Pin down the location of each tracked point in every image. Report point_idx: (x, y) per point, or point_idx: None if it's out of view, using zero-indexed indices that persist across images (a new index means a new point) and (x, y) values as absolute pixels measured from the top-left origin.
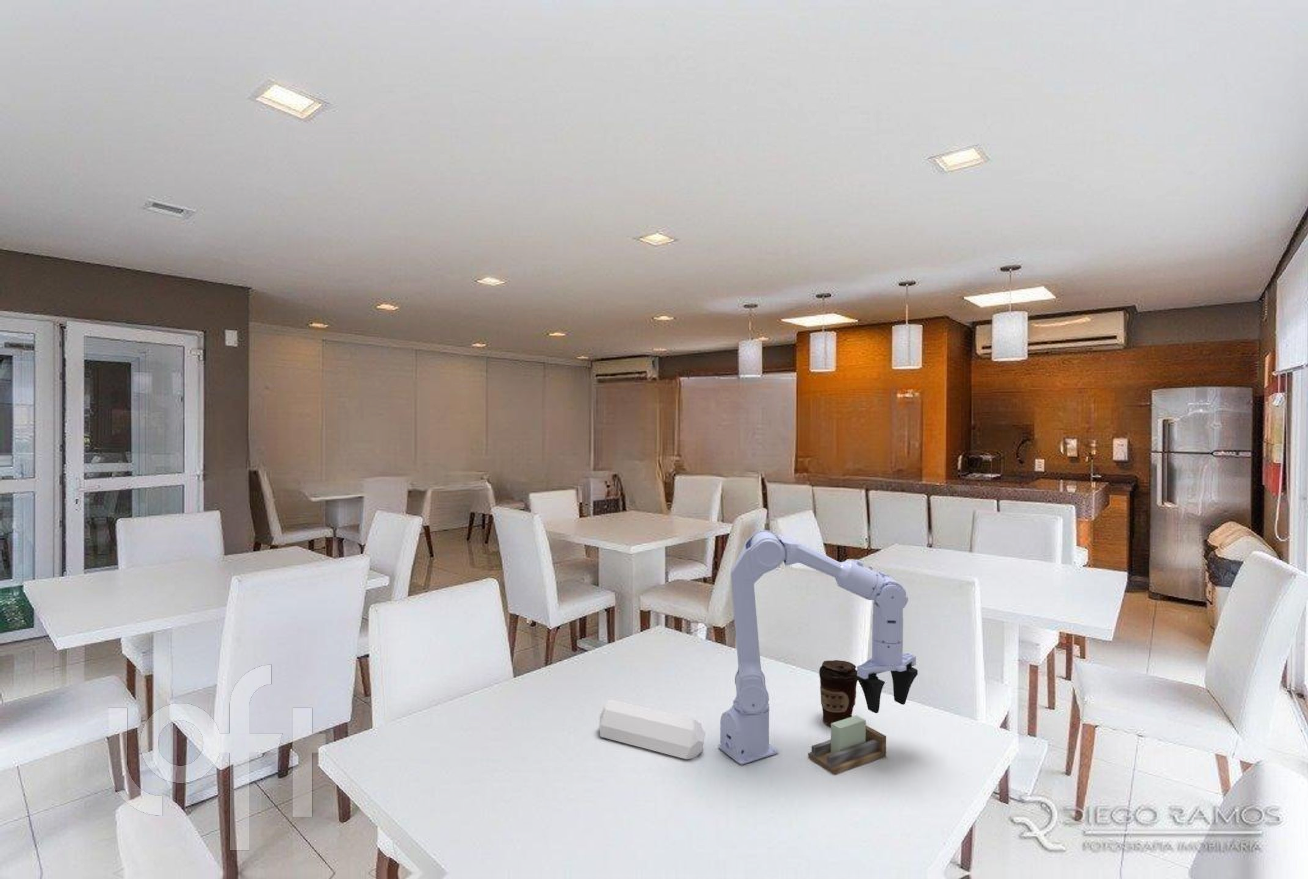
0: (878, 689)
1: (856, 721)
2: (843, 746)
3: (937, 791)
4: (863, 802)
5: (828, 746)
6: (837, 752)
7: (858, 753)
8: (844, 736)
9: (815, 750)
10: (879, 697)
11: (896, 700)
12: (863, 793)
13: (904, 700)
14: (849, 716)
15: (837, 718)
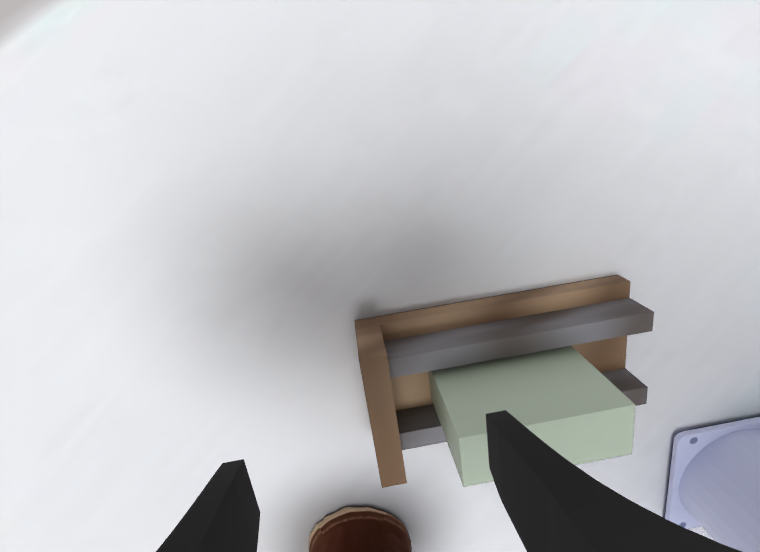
0: (656, 538)
1: None
2: (561, 359)
3: (344, 28)
4: (666, 86)
5: None
6: (600, 337)
7: (495, 329)
8: (579, 382)
9: (639, 381)
10: (553, 482)
11: (255, 509)
12: (620, 137)
13: (227, 479)
14: (344, 546)
15: (394, 545)
